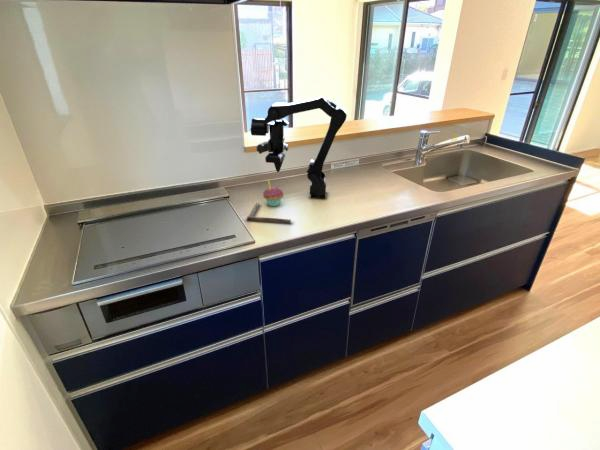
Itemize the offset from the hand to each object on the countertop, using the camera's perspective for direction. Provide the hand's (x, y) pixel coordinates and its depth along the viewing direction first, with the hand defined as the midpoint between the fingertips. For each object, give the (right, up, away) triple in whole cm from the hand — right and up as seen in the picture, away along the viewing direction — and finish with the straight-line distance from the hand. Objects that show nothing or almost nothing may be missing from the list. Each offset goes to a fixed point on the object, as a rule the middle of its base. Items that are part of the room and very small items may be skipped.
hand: (278, 171), depth 150 cm
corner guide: (-2, -19, -12) cm, 23 cm away
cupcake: (-2, -14, -4) cm, 15 cm away
